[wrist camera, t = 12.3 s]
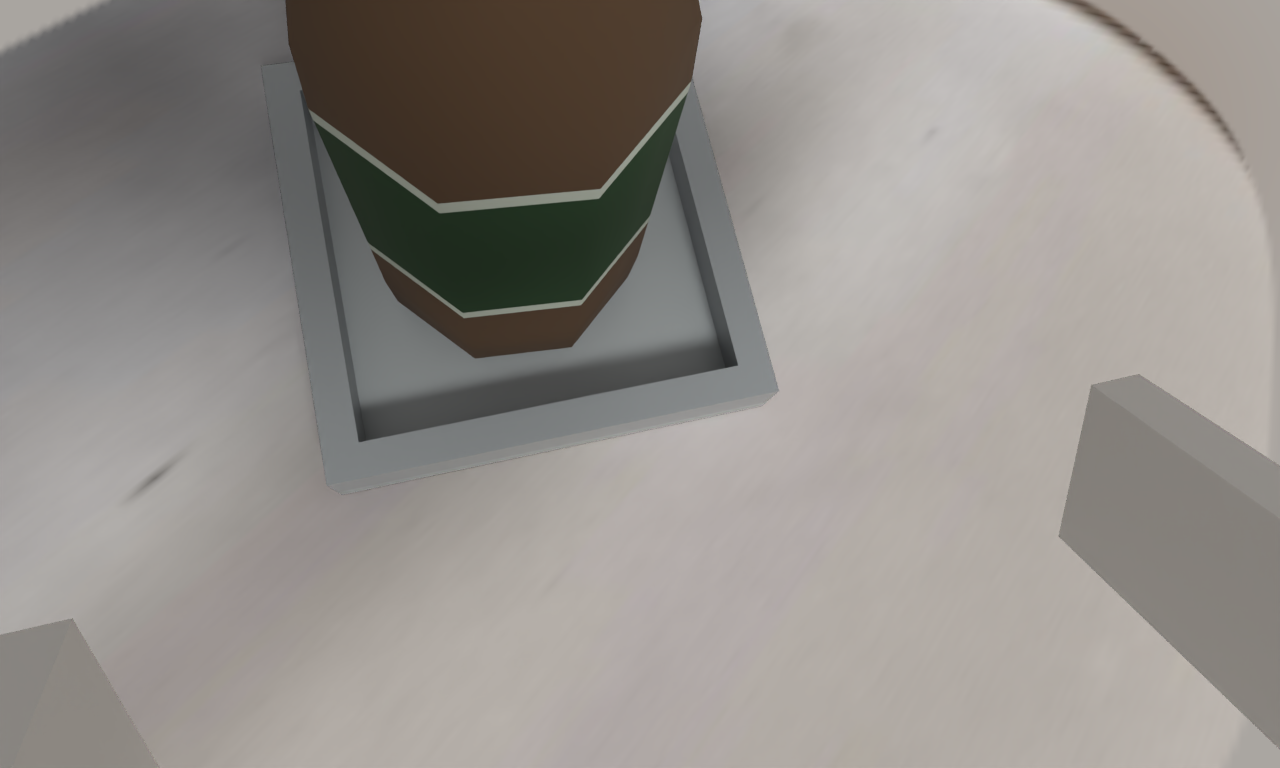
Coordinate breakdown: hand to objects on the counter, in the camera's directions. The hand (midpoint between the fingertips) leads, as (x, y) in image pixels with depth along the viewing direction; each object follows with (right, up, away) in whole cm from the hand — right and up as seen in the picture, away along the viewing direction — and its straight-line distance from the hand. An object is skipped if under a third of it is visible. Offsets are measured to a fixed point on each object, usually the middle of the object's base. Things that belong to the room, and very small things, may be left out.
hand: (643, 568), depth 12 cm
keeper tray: (-4, +7, +17) cm, 18 cm away
